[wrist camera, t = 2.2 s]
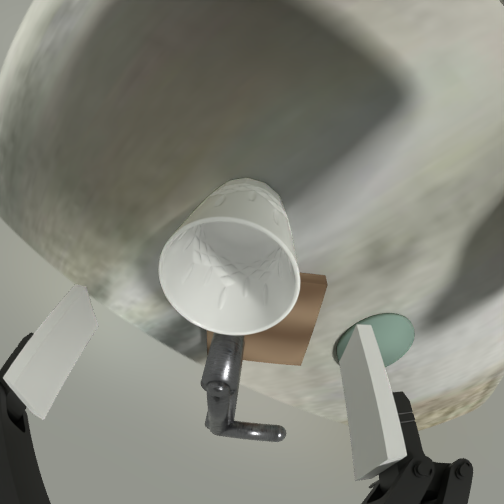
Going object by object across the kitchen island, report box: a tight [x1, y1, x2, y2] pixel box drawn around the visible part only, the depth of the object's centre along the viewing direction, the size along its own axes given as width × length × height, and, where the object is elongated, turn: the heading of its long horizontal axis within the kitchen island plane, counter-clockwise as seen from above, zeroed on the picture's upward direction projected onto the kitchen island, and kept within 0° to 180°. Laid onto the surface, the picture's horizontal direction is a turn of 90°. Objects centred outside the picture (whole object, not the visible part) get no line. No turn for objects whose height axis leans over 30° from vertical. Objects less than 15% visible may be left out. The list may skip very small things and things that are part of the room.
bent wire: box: [201, 332, 286, 442], centre depth 23 cm, size 9×7×11 cm
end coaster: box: [337, 313, 415, 367], centre depth 30 cm, size 10×10×1 cm
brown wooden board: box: [207, 273, 327, 366], centre depth 28 cm, size 12×11×2 cm
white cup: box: [158, 178, 300, 335], centre depth 19 cm, size 8×8×10 cm
